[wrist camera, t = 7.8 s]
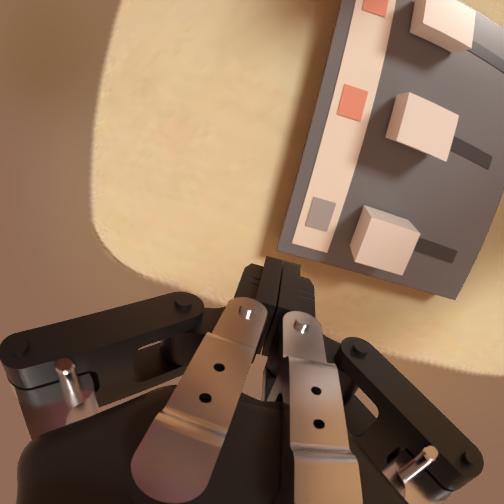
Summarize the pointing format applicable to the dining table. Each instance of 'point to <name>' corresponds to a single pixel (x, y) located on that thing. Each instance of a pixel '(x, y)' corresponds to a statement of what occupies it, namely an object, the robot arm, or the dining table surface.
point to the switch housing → (401, 147)
